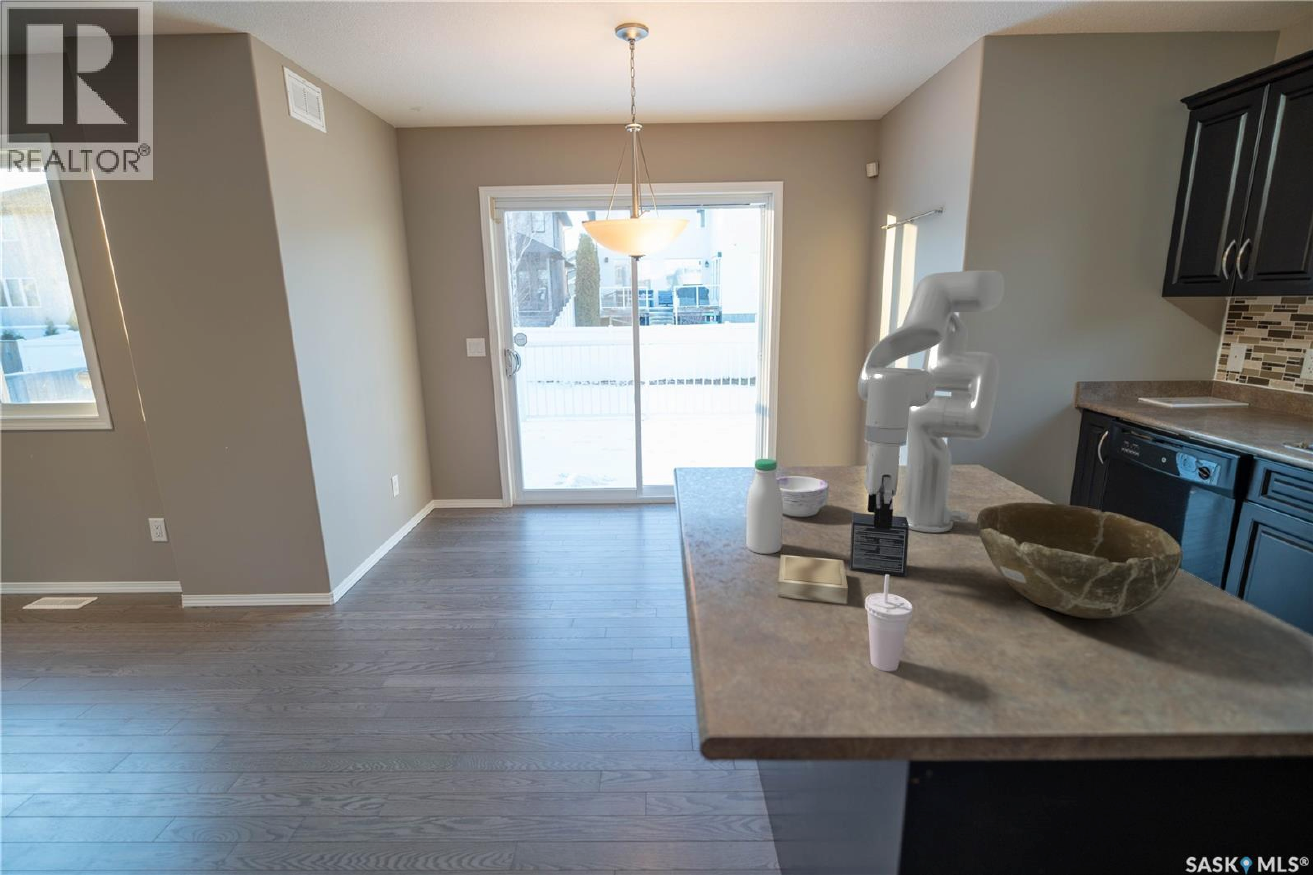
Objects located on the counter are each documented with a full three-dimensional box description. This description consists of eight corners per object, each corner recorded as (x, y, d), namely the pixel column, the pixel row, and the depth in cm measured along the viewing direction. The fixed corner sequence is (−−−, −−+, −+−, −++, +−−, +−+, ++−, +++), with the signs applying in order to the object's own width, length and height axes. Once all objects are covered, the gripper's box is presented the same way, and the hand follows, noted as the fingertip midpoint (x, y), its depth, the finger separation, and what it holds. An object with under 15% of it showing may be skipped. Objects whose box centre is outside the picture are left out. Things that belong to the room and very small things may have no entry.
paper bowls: (773, 500, 155) (773, 472, 154) (829, 505, 150) (831, 477, 148) (763, 517, 142) (763, 488, 140) (824, 524, 136) (826, 494, 134)
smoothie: (853, 652, 84) (859, 566, 81) (894, 649, 84) (901, 564, 82) (873, 678, 78) (880, 586, 75) (917, 675, 78) (925, 584, 75)
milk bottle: (781, 556, 118) (784, 465, 114) (745, 553, 120) (746, 464, 116) (781, 542, 126) (783, 456, 122) (746, 540, 127) (748, 455, 123)
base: (842, 574, 109) (843, 559, 109) (846, 603, 98) (847, 587, 97) (780, 568, 112) (780, 554, 112) (777, 596, 101) (778, 580, 100)
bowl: (997, 639, 87) (1008, 549, 84) (955, 566, 112) (962, 496, 109) (1213, 665, 79) (1234, 568, 76) (1116, 581, 105) (1128, 506, 102)
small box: (903, 564, 114) (907, 515, 112) (906, 577, 108) (910, 526, 106) (849, 557, 117) (852, 510, 115) (849, 570, 111) (852, 521, 109)
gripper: (860, 427, 116) (854, 505, 119) (870, 442, 99) (863, 533, 102) (899, 429, 114) (892, 508, 117) (915, 444, 97) (907, 536, 101)
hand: (878, 520), depth 110 cm, fingers open, 9 cm apart
